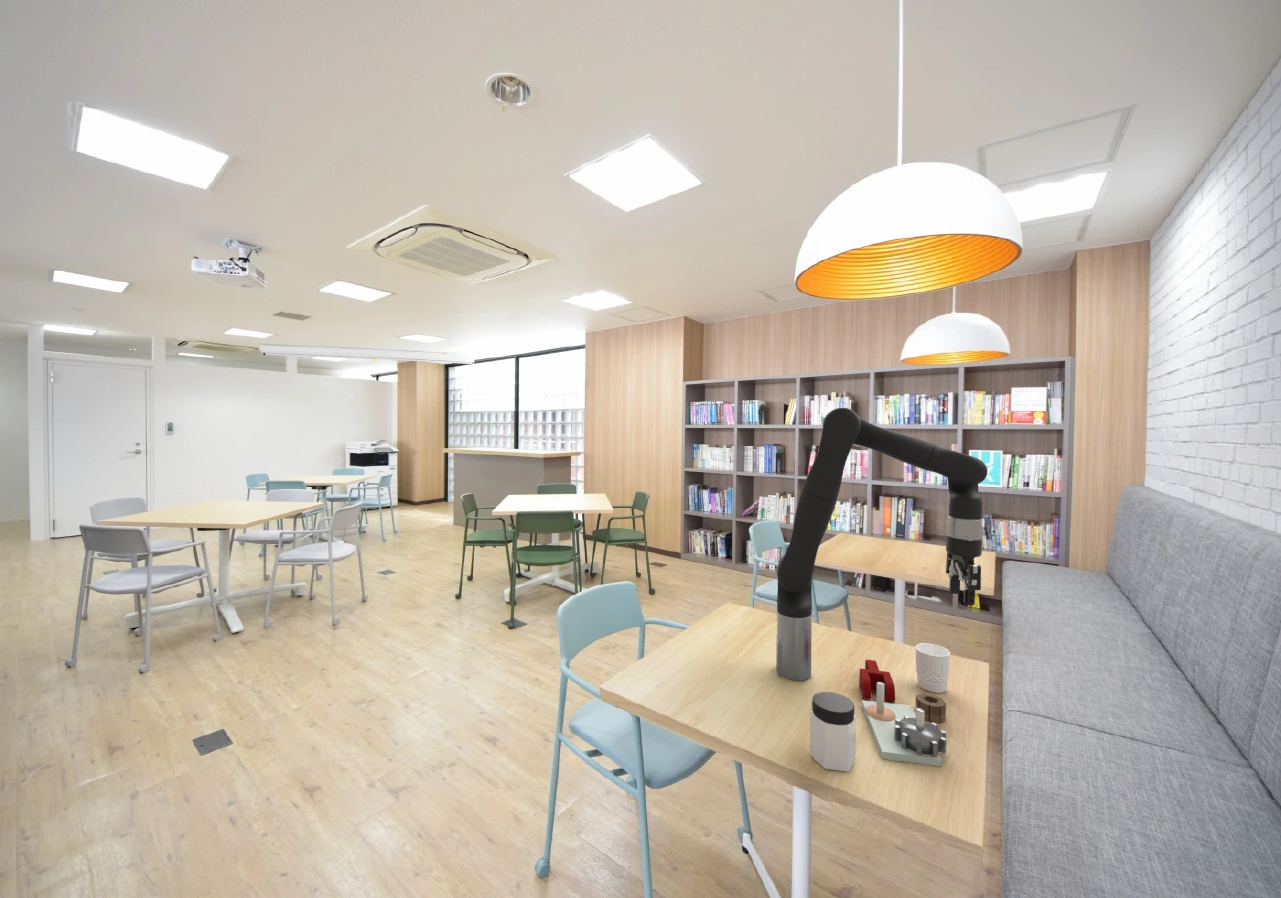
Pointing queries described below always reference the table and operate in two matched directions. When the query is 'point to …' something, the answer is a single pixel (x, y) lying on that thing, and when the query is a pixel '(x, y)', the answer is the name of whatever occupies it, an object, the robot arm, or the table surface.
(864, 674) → the mechanical linkage
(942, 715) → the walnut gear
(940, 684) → the white cup
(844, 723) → the jar
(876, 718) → the board
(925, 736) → the fixed gear
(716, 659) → the table surface
